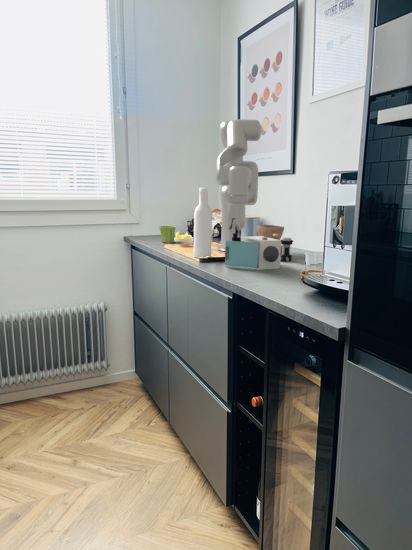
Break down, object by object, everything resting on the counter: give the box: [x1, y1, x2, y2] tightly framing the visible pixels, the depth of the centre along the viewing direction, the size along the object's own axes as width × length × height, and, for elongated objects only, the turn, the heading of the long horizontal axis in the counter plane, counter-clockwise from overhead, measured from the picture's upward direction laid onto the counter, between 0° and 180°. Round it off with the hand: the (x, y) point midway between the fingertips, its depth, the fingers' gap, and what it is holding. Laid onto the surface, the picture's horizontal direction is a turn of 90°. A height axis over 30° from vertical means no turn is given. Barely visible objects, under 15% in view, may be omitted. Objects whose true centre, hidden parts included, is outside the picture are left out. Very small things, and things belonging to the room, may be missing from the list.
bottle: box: [192, 187, 213, 257], centre depth 179 cm, size 8×8×30 cm
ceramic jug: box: [256, 224, 285, 255], centre depth 185 cm, size 18×14×14 cm
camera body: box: [241, 235, 282, 271], centre depth 163 cm, size 16×10×12 cm, turn 26°
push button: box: [280, 237, 294, 263], centre depth 175 cm, size 7×5×10 cm
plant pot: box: [158, 225, 177, 244], centre depth 225 cm, size 9×9×9 cm
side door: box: [224, 240, 260, 269], centre depth 157 cm, size 14×1×10 cm, turn 66°
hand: (236, 247), depth 161 cm, fingers closed
